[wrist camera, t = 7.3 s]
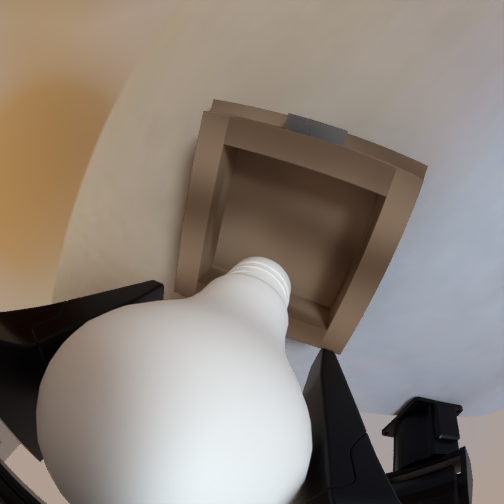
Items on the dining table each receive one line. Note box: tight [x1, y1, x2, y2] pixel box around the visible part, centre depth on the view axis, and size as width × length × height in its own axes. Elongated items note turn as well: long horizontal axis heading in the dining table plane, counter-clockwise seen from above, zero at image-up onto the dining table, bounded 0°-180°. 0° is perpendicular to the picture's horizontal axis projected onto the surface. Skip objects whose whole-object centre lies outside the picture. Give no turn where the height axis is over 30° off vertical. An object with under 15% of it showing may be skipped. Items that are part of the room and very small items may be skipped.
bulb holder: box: [175, 99, 428, 355], centre depth 17 cm, size 13×13×4 cm
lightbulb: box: [36, 257, 312, 504], centre depth 8 cm, size 6×6×11 cm
